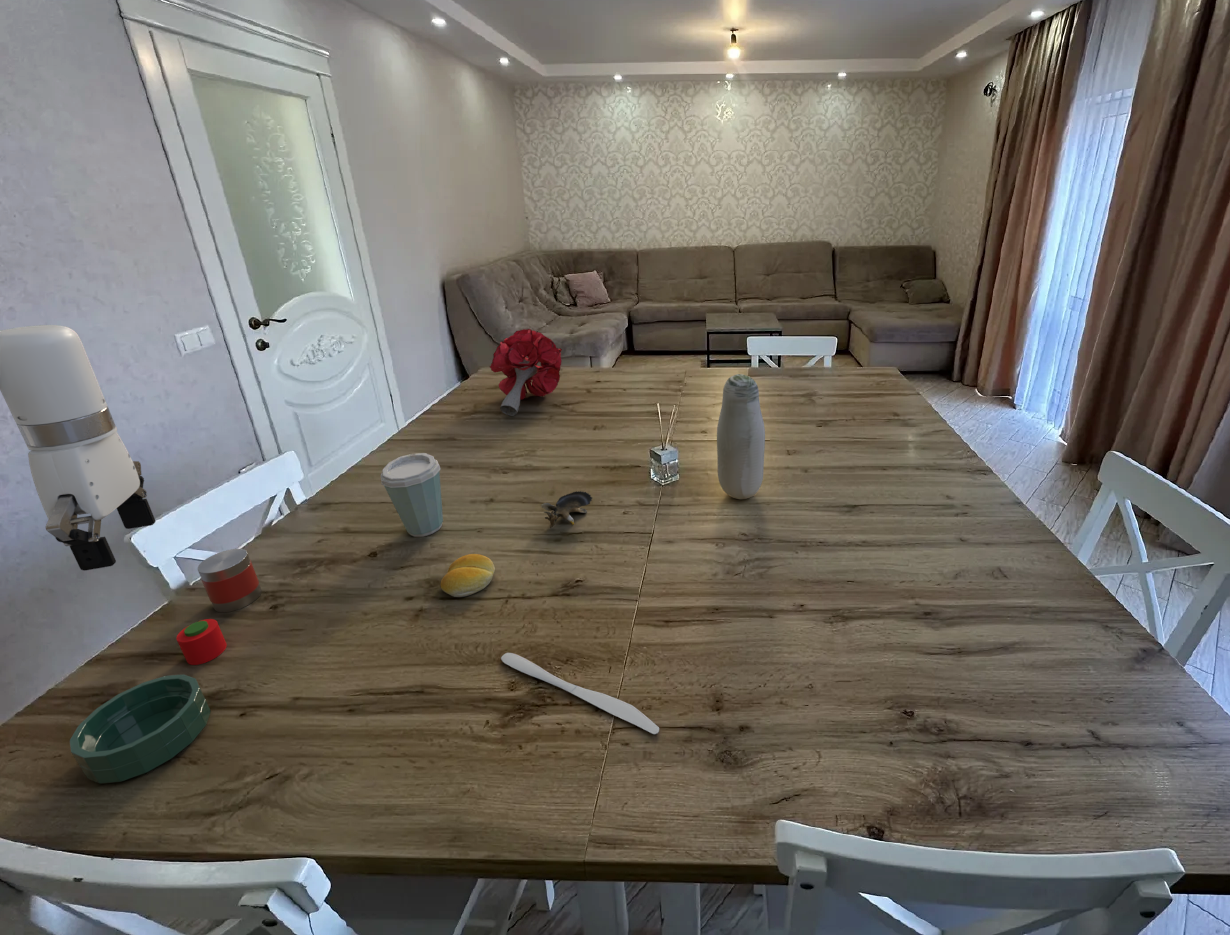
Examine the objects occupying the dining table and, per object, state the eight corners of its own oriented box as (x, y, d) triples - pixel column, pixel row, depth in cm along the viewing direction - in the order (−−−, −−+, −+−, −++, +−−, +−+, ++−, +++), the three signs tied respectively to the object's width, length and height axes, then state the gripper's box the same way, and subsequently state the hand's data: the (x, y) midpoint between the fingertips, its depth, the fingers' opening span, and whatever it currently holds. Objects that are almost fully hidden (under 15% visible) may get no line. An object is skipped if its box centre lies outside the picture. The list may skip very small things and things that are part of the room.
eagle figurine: (567, 533, 109) (600, 506, 115) (546, 503, 108) (580, 478, 114) (552, 537, 115) (584, 511, 121) (532, 509, 114) (565, 485, 120)
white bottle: (771, 499, 122) (775, 379, 112) (730, 510, 118) (730, 387, 108) (749, 479, 131) (750, 366, 120) (710, 489, 126) (708, 373, 116)
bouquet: (556, 431, 174) (578, 362, 192) (526, 382, 156) (554, 310, 174) (493, 432, 177) (521, 364, 196) (457, 384, 159) (491, 314, 178)
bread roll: (435, 600, 93) (430, 581, 92) (456, 566, 102) (452, 548, 100) (484, 598, 94) (480, 579, 92) (501, 565, 102) (498, 547, 100)
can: (204, 608, 92) (186, 569, 89) (244, 583, 98) (229, 545, 95) (231, 616, 90) (215, 576, 87) (271, 590, 96) (257, 552, 93)
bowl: (64, 770, 66) (46, 741, 65) (173, 693, 77) (160, 666, 75) (127, 798, 63) (109, 768, 61) (232, 714, 73) (220, 686, 72)
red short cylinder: (179, 661, 82) (166, 634, 80) (213, 638, 86) (201, 613, 84) (200, 668, 81) (188, 641, 79) (234, 644, 85) (223, 619, 83)
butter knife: (513, 645, 83) (497, 658, 81) (666, 720, 71) (653, 739, 69) (513, 648, 83) (498, 661, 81) (665, 724, 72) (653, 742, 69)
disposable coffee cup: (448, 538, 110) (434, 472, 104) (388, 548, 107) (370, 480, 101) (455, 510, 119) (442, 448, 114) (400, 519, 116) (384, 455, 111)
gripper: (74, 407, 74) (121, 517, 80) (-30, 462, 59) (38, 593, 65) (146, 400, 76) (186, 508, 82) (63, 452, 61) (121, 578, 67)
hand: (121, 545), depth 74 cm, fingers open, 9 cm apart
